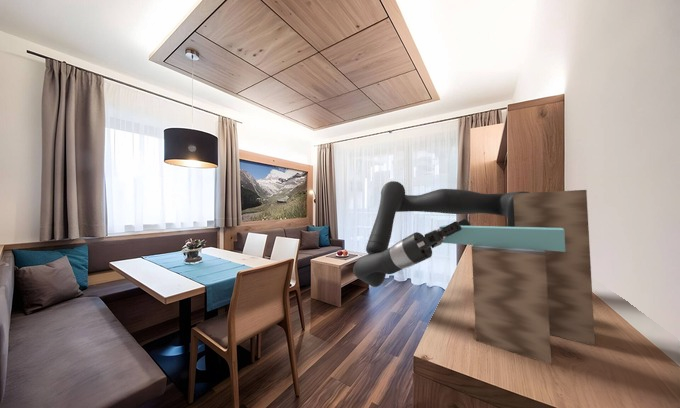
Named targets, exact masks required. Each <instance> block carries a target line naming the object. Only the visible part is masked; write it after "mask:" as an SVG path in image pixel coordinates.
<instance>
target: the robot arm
mask: <svg viewBox="0 0 680 408" xmlns="http://www.w3.org/2000/svg"><path fill="white" fill-rule="evenodd" d="M519 193H531V192H530V191H526V190H525V191H513V192H512V191H511V192H506V193H505V192H504V193H482V192H477V191H471V190H466V189H459V188H439V189H435V190H432V191H429V192H427V193H422V194H416V195H411V194H409V195H408V194H406V189H405V187H404V185H403V184H402V183H401V182H398V181H395V180H393V181H388V182H386V183H385V184H384V185H383V186H382V188H381V192H380V200H379V201H380V202H379V206H378V210H377V214H376V217H375V220H374V224H373V226H372V229H371V231H370V235H369V237H368V240H367V241H368V242H367V243H366V247H365V250H366V253H367V254H366V255H364V256H362V257H360V258H359V259H358V260H357V261H356V262H355V263H354V265H353V266H352V267H353V268H352V269H353V270H352V271H353V272H352V273H353V274H354V276H355V277H356V278H357V279H358V280H361V282H364V283H365V284H367V285H369V286H371V287H373V288H378V287H379V286H381V285H382V284H383V283H384V281H385V279H386V275H393V274H396V273H398V272H400V271H402V270H405V269H407V268H410V267H413V266H415V265H417V264H419V263H422V262H423V261H426V260H428V259H430V258H432V255H433V250H432V249H434V248H436V247H438V246H441V245H442V244H443V243H442V242H443V239H446V238H447V237H448V236H450V235H452V234H454V233H456V232H458V231H460V230H461V229H462V227H461V226H471V223H470V221H469V220H468V219H467V218H463V219H462V220H460V221H456V220H455V221H454V222H451V223H449V224H447V226H445V227H444V228H442V229H440V228H437V229H434V230H431V231H429V232H427V233H425V234H424V235H423V234H422V233H420V232H418V231H416V232H414V233H412V234H410V235H408V236H406V237H404V238H403V239H401V240H400V241H398V242H396V243H394V244H393V245H392V246H390V247H389V245H390V241H391V238H392V232H393V227H394V221H395V216H396V214H397V212H398V213H399V212H402V213H404V212H405V213H406V212H421V213H438V214H448V215H473V214H489V215H495V216H501V217H506V222H507V223H506V227H515V221H514V201H513V194H519ZM446 236H447V237H446Z"/></svg>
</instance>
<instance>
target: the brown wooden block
mask: <svg viewBox="0 0 680 408" xmlns="http://www.w3.org/2000/svg"><path fill="white" fill-rule="evenodd" d="M471 261H472V262H471V263H472V265H471V267H472V284H473V303H474V304H473V305H474V306H473V307H474V308H473V309H474V321H475V322H474V324H475V327H474V328H475V341H476V342H480V343H483V344H486V345H489V346H492V347H495V348H498V349H502V350H504V351H507V352H511V353H514V354H517V355H520V356H524V357H525V358H526V357H527V358H530V359H533V360H535V361H539V362H542V363H545V364H547V365H548V364H549V365H552V357H551V356H552V355H551V353H552V352H551V351H552V349H551V335H550V331H549V312H548V293H547V274H546V255H545V250H533V249H519V248H506V247H492V246H478V245H471Z"/></svg>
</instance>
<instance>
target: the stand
mask: <svg viewBox="0 0 680 408" xmlns="http://www.w3.org/2000/svg"><path fill="white" fill-rule="evenodd" d="M587 193H588V191H587V189H579V190H578V189H575V190H558V191H555V190H554V191H540V192H530V193H519V194H513V201H514V221H515V227H543V228H563V229H564V234H565V252H560V251H547V250H545V255H546V274H547V293H548V312H549V331H550V336H555V337H559V338H563V339H566V340H571V341H575V342H577V343H582V344H587V345H590V346H593V347H596V336H595V322H594V321H595V319H594V318H595V317H594V303H593V302H594V299H593V285H592V283H593V281H592V267H591V251H590V250H591V249H590V247H591V246H590V231H589V230H590V229H589V211H588V195H587Z"/></svg>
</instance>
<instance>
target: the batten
mask: <svg viewBox="0 0 680 408" xmlns="http://www.w3.org/2000/svg"><path fill="white" fill-rule="evenodd" d="M447 225H448V224H447ZM447 225H446V224H445V225H439V228H438V229H442V228H444V227H445V226H447ZM461 227H462V229H461V230H460V231H458V232H456V233H454V234H452V235H450V236H448V237H447V236H446V237H447V238H446V239H443V242H442V244H451V245H452V244H455V245H466V246H473V245H478V246H492V247H506V248H519V249H533V250H547V251H560V252H565V234H564V229H563V228H543V227H507V226H497V225H496V226H494V225H490V226H489V225H488V226H487V225H470V226H461Z"/></svg>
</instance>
